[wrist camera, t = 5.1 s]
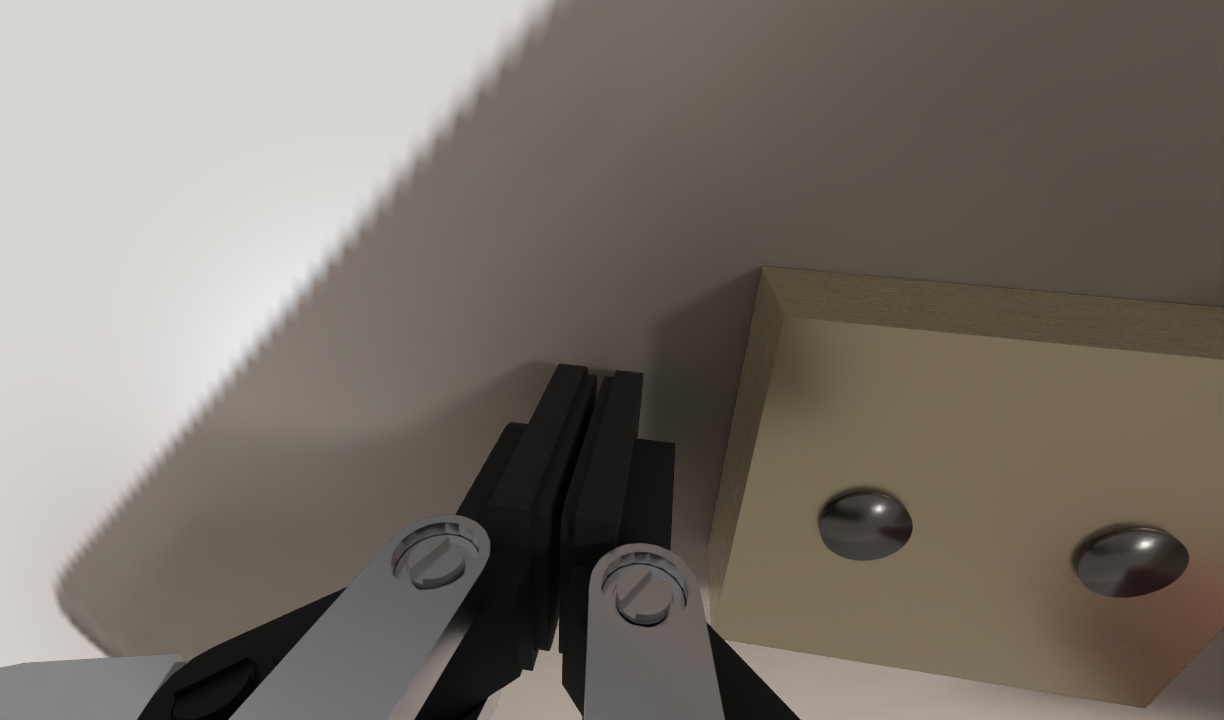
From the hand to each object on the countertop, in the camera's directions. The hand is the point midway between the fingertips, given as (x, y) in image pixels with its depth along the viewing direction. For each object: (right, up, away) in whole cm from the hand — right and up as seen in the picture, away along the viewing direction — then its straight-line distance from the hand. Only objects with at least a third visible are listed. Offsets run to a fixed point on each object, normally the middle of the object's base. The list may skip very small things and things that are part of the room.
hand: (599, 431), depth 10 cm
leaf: (+7, 0, 0) cm, 7 cm away
